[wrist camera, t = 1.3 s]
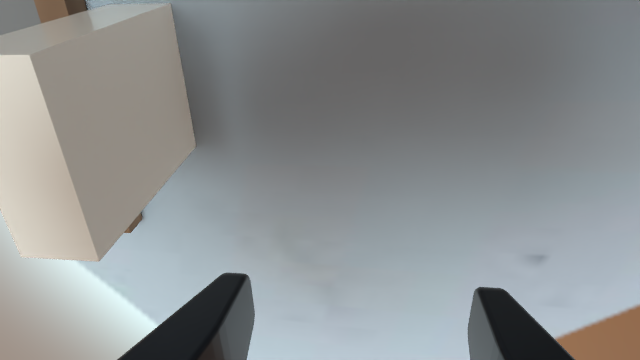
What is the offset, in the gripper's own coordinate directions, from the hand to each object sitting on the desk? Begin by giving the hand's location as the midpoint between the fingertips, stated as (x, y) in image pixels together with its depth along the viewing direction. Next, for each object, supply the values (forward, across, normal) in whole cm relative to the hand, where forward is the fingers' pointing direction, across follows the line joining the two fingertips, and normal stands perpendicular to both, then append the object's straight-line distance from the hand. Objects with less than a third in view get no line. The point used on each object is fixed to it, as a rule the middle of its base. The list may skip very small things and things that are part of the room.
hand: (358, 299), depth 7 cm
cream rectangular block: (+12, +9, 0) cm, 15 cm away
